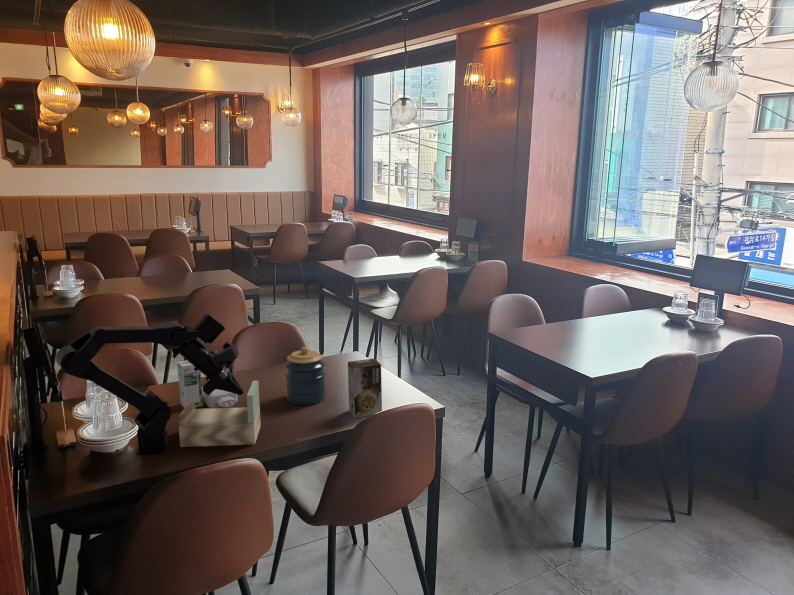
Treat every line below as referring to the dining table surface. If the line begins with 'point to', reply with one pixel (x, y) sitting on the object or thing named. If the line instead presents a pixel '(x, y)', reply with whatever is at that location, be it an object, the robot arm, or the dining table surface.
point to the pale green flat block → (253, 401)
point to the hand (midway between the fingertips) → (242, 393)
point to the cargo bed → (216, 426)
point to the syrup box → (189, 384)
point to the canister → (305, 377)
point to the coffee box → (364, 387)
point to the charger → (219, 399)
